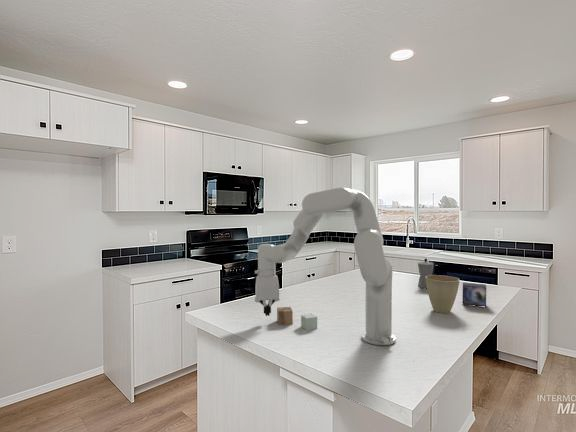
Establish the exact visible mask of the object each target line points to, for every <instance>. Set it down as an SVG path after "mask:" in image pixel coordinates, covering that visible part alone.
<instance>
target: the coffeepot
mask: <svg viewBox="0 0 576 432" xmlns="http://www.w3.org/2000/svg"><path fill="white" fill-rule="evenodd" d="M436 266H437V264H436V263H435V261H428V258H424V261H420V262H417V267H418V272H419V278H418V283H417V284H418V285H417V287H418V288H419V287H420V288H419V289H424V288H427V285H426V276H429V275H435V270H436Z"/></svg>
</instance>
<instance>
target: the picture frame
mask: <svg viewBox="0 0 576 432" xmlns="http://www.w3.org/2000/svg"><path fill="white" fill-rule="evenodd" d="M462 303H463V304H465V305H464V306H468V305H475V306H474V307H476V306H485V307H486V308H487V285H486V284H482V283H471V282H462ZM463 304H462V305H463Z"/></svg>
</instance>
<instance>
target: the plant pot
mask: <svg viewBox="0 0 576 432" xmlns="http://www.w3.org/2000/svg"><path fill="white" fill-rule="evenodd" d="M426 285H427V289H426V290H427V295H428V298H429V301H430V304H431V308H432V310H433V311H434V312H436V313H439V314H449V312H450V313H451V312H452V308H453V307H454V304H455V301H456V299H457V294H458V290H459V285H460V278H458V277H455V276H449V275H440V274H439V275H437V274H433V275H429V276H426Z"/></svg>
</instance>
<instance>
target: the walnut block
mask: <svg viewBox="0 0 576 432" xmlns="http://www.w3.org/2000/svg"><path fill="white" fill-rule="evenodd" d="M293 315H294V314H293V309H292V307H291V306H280V307H277V308H276V320H277V324H278V326H286V325H293V322H294V319H293V317H294V316H293Z"/></svg>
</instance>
